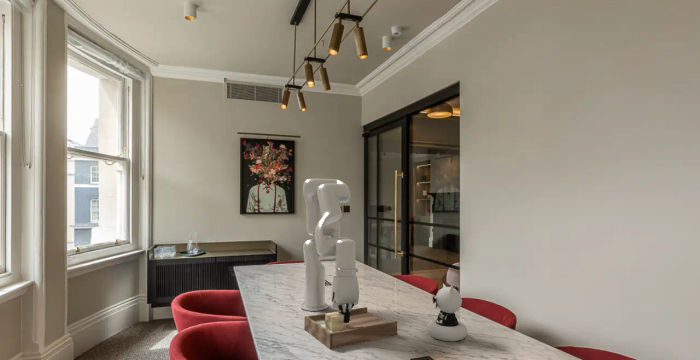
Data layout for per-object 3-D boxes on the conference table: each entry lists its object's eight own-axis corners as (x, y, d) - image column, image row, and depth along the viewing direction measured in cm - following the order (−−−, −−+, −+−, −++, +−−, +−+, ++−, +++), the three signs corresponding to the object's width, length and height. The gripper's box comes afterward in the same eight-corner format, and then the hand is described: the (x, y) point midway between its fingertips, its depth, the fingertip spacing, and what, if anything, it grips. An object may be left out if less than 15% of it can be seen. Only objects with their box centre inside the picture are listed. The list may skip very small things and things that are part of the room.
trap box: (304, 329, 149) (304, 316, 149) (366, 319, 163) (366, 307, 163) (330, 349, 130) (330, 334, 130) (397, 335, 144) (397, 321, 144)
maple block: (325, 327, 143) (325, 313, 143) (337, 325, 145) (337, 311, 145) (331, 331, 138) (331, 317, 139) (343, 329, 141) (343, 315, 141)
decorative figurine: (422, 329, 150) (422, 277, 151) (458, 329, 152) (458, 277, 153) (433, 343, 136) (433, 286, 137) (473, 343, 137) (473, 285, 138)
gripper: (357, 269, 153) (357, 316, 152) (323, 272, 145) (323, 322, 144) (367, 272, 146) (367, 321, 145) (332, 275, 139) (332, 328, 138)
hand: (345, 322), depth 145 cm, fingers closed
